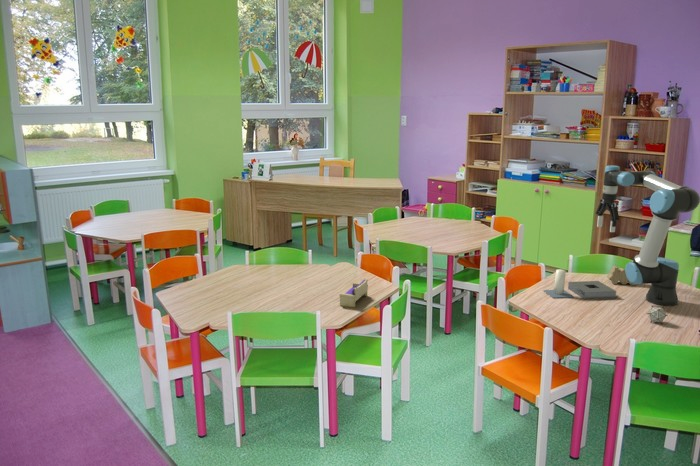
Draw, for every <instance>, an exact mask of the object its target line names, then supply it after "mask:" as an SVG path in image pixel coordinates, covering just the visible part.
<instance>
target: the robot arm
mask: <svg viewBox="0 0 700 466" xmlns="http://www.w3.org/2000/svg"><path fill="white" fill-rule="evenodd" d="M620 168H621V167H620V166H619V165H606V166H605V169H604V172H603V173H604V175H603V176H604V177H603V187H602V195H601V199H599V200H600V202H599V203H598V207H597V209H596V211H595V214H596V215H597V222H596V223H597V224H596V227H597V228H602V227H603V223H604V222H603V221H604V214H605V212H606V210H607V211H609V214H610V219H611V220H610V226H609V232H610V233H615V232H616V227H617V222H619V221H620V216H619V215H620V214H619V210H618V209H619V208H618V202H616V203H615V201H616V200H617V197H618V194H617V193H618V186H622V187H630V186H642V187H645V188H647V189H650V190H652V191H654V192H653V193H652V195H651V196H650V199H649V208H650V210H651V214H652V215H653V216H652V218H651V222H650V224H649V225H648V226H649V227H648V229H647V233H646V235H645V238H644V240H643V243H642V246H641V248H640V251H639V254H636V255H635V256H634V259H633V261H629V262H627V263H626V265H625V269H624V270H625V273H626V276H627V278H628V280H629V281H630V282H631V283H633V284H636V285H647V284H649V285H650V284H651V285H650V286H649V289H648V290H647V293H646V295H645V301H647V302H649V303H652V304H654V305H660V306H665V307H666V306H667V307H669V306H670V307H671V306H673V307H674V306H677V305H678V303H679V298H678V293H677V283H678V276H679V272H680V269H679V267H680V263H679V262H678V261H676V260H673V259H670V258H666V257H661V256H659V254H660V252H661V250H662V248H663V245H664V242H665V239H666V237H667V235H668V232H669V230H670V227H671V225H672V222H673V221H676V220H677V219H678V217H679V214H680V213H682V214H683V213H690V212H693V211H694V210H695V209H697V208H698V207H699V205H700V194H699V193H698V191H696V190H695V189H694V188H691V187H689V186H686V185H685V186H682V185H678V184H676V183H674V182H671V181H669V180H667V179H665V178H662V177H661V176H660V177H659V176H657V174H656V173H655V171H651V170H641V171H640V170H639V171H635V170H634V171H633V170H632V171H631V170H630V171H627V170H626V171H624V170H621V169H620Z"/></svg>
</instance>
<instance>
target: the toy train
mask: <svg viewBox="0 0 700 466" xmlns="http://www.w3.org/2000/svg"><path fill="white" fill-rule="evenodd" d="M609 271H610V272H609V273H608V274H607V275H606V278H607V279H608V281H610V282H611V283H612V284H613V285H618V283H621V284H622V285H627V284H629V285H630V286H636V285H637V284H633V283H631V282H630V281H629V280H628V278H627V276H626V273H625V269H624V268H623V267H619V268H618V267H617V265H612V267H611V269H610V270H609Z"/></svg>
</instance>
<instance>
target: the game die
mask: <svg viewBox="0 0 700 466" xmlns="http://www.w3.org/2000/svg"><path fill="white" fill-rule="evenodd" d="M664 308H665V307H664V306H662V307H657V306H653V305H651V309H650V310H649V312H647V313H646V315H648V317H649V319H650V323H652V322H653V323H661V325H663V324H664V323H663V322H664V320H665V319H666V317H668V316H669V315H668V314H666V312H665V310H664Z"/></svg>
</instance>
